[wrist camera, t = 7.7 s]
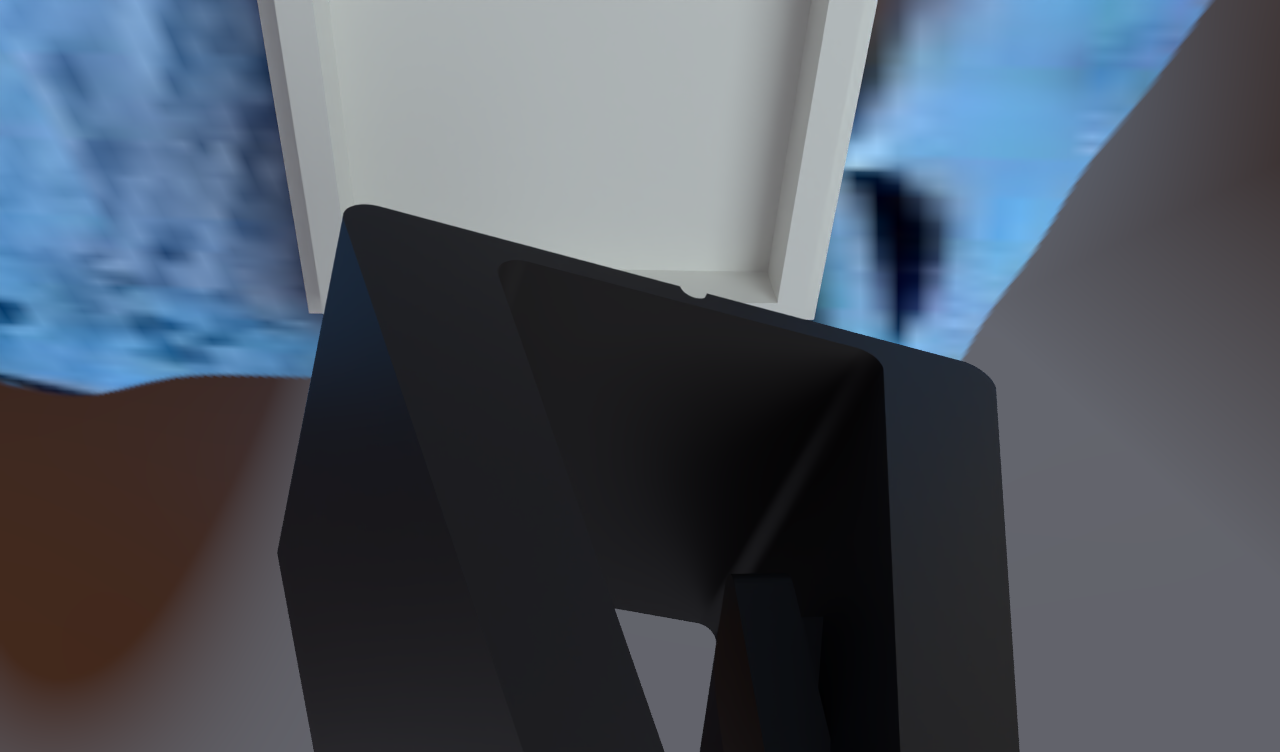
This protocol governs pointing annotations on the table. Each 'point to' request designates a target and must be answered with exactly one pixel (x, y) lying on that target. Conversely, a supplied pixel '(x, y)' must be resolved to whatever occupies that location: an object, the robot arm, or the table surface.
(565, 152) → the shallow square tray
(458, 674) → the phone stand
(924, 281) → the table surface
